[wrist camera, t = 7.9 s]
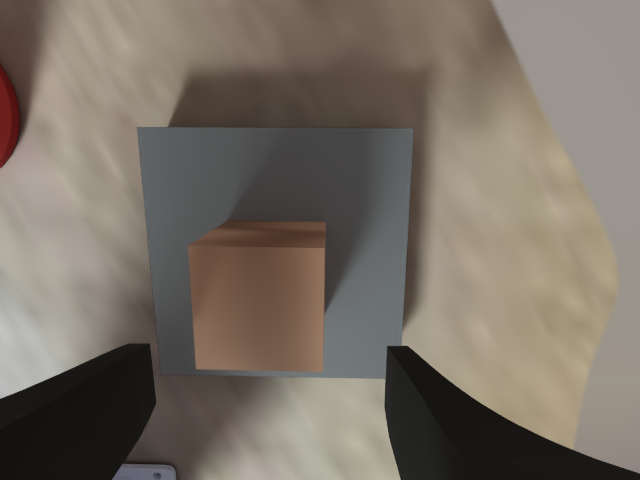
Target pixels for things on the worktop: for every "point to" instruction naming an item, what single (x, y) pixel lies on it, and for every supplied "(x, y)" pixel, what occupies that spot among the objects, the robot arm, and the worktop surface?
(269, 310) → the terracotta block
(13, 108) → the canned food
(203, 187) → the charcoal stand
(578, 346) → the worktop surface
